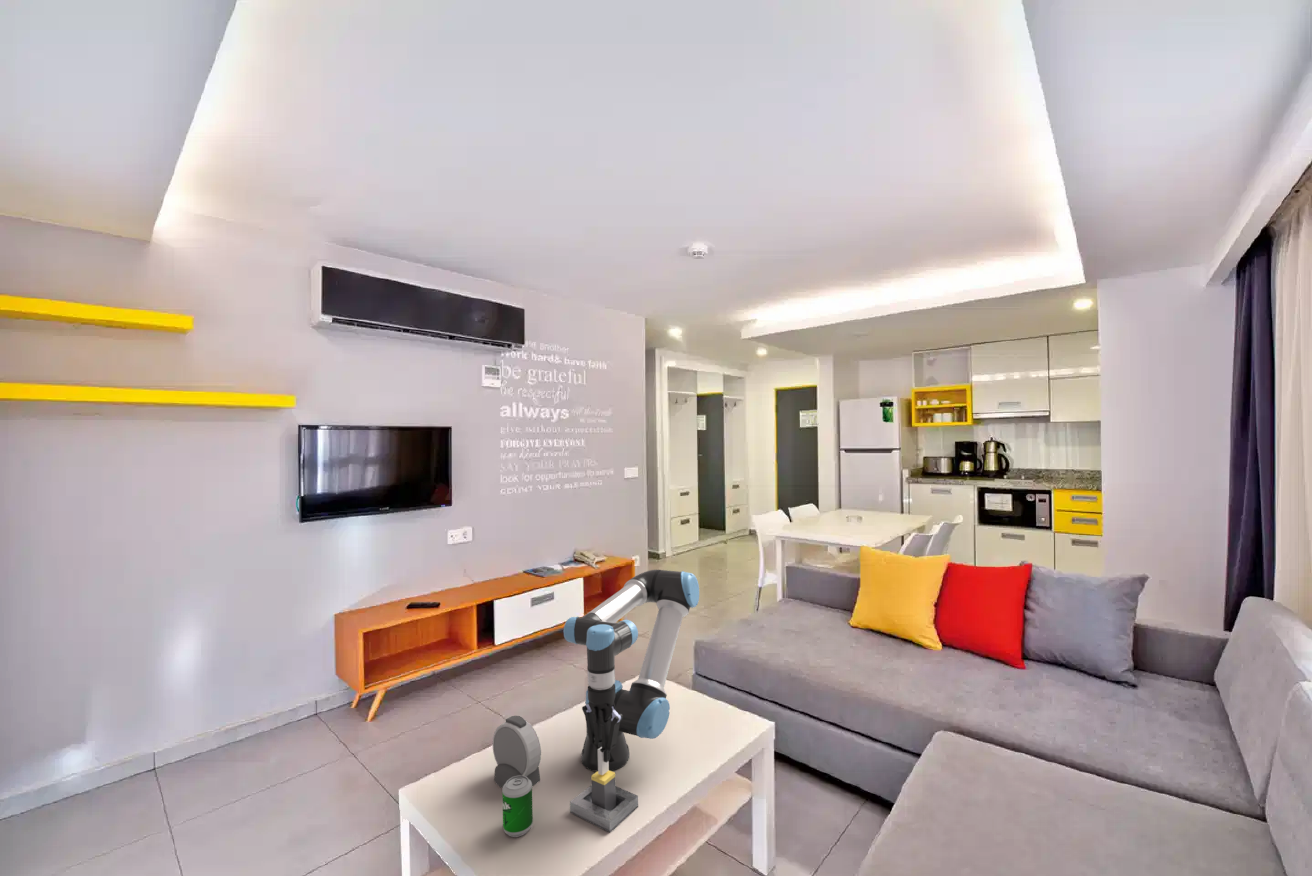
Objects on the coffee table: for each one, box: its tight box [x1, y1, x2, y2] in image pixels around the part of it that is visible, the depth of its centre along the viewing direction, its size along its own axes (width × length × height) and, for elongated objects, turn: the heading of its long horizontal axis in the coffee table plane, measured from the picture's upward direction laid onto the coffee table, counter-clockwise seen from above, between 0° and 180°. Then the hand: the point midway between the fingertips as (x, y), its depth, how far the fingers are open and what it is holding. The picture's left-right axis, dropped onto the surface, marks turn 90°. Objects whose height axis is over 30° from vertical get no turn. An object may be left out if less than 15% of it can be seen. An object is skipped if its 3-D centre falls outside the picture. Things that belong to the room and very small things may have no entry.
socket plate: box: [569, 784, 639, 833], centre depth 147 cm, size 14×12×4 cm
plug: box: [590, 770, 616, 812], centre depth 147 cm, size 5×5×9 cm
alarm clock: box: [492, 715, 542, 789], centre depth 162 cm, size 16×10×18 cm, turn 56°
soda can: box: [501, 775, 534, 838], centre depth 140 cm, size 8×8×12 cm
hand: (603, 772), depth 147 cm, fingers closed
